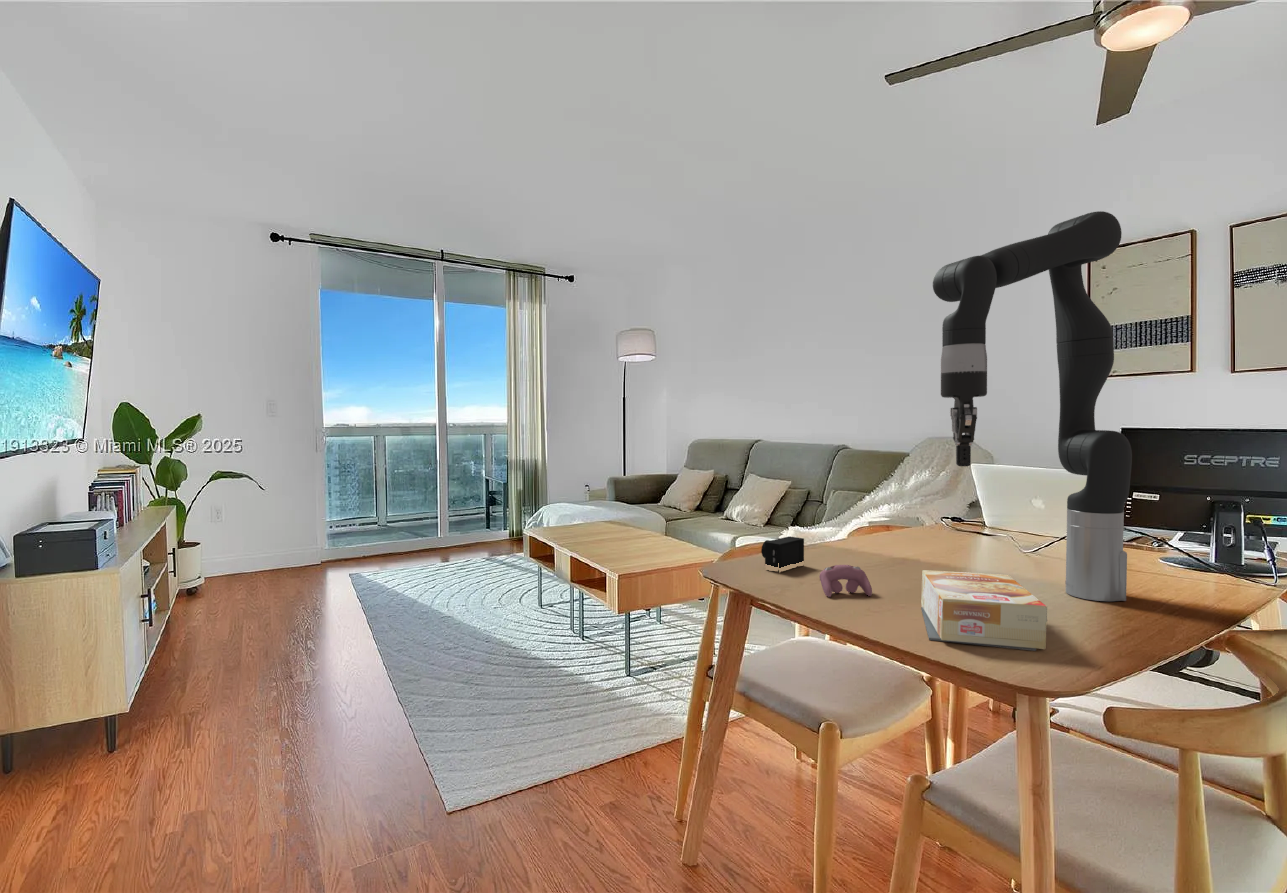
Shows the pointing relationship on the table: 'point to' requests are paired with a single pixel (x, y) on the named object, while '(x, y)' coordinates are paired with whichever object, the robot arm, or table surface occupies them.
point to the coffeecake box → (983, 609)
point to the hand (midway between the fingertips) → (963, 465)
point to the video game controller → (846, 572)
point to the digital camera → (783, 551)
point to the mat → (934, 636)
